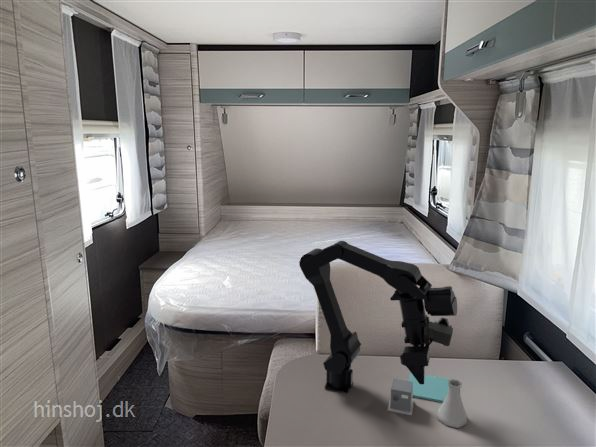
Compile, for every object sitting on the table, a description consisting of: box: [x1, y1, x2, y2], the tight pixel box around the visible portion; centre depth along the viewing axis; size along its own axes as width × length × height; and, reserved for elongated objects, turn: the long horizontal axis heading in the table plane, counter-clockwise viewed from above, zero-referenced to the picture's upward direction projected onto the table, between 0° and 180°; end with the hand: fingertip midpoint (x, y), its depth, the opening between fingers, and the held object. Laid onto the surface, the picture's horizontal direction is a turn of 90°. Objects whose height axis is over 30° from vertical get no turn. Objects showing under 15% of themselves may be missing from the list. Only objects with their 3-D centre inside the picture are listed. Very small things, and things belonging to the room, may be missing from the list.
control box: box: [387, 377, 414, 416], centre depth 114 cm, size 6×6×6 cm
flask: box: [436, 378, 468, 429], centre depth 109 cm, size 7×7×10 cm
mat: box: [408, 371, 451, 403], centre depth 122 cm, size 11×11×1 cm
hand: (424, 374), depth 111 cm, fingers open, 9 cm apart
